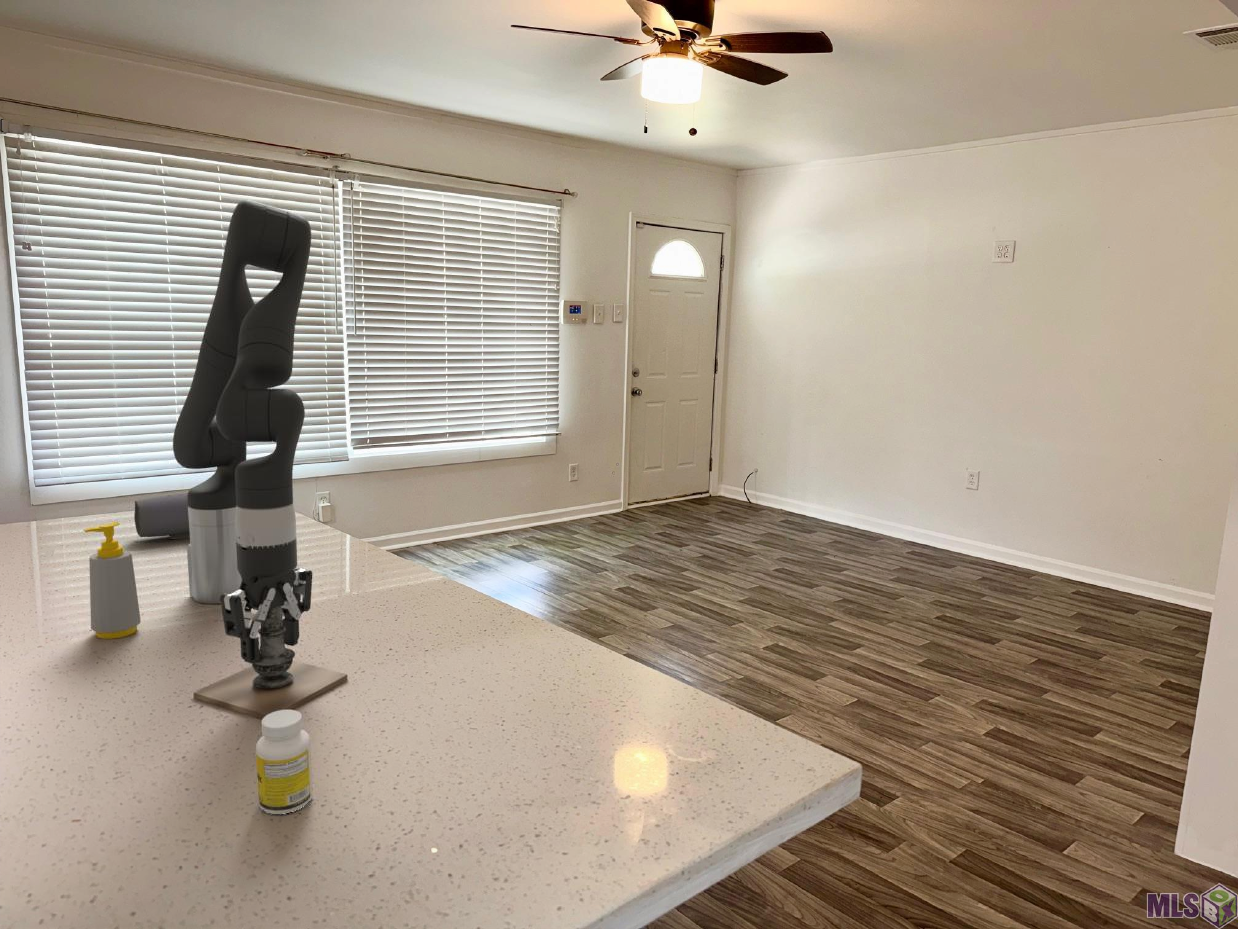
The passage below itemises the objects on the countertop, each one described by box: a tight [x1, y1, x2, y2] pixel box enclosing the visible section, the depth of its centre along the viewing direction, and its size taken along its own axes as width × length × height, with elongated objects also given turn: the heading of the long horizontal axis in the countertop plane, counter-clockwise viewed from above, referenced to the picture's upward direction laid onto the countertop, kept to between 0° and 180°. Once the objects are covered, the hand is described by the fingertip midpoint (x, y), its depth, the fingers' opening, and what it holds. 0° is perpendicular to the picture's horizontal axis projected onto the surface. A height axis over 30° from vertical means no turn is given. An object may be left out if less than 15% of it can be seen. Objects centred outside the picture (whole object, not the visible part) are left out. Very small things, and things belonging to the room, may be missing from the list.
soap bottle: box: [83, 521, 142, 640], centre depth 129 cm, size 7×7×18 cm
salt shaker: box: [251, 607, 296, 688], centre depth 113 cm, size 6×6×12 cm
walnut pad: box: [193, 659, 349, 720], centre depth 114 cm, size 14×14×1 cm
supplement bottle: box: [255, 709, 314, 815], centre depth 87 cm, size 5×5×10 cm
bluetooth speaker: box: [133, 492, 190, 540], centre depth 187 cm, size 23×9×10 cm, turn 130°
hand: (271, 652), depth 113 cm, fingers open, 6 cm apart
